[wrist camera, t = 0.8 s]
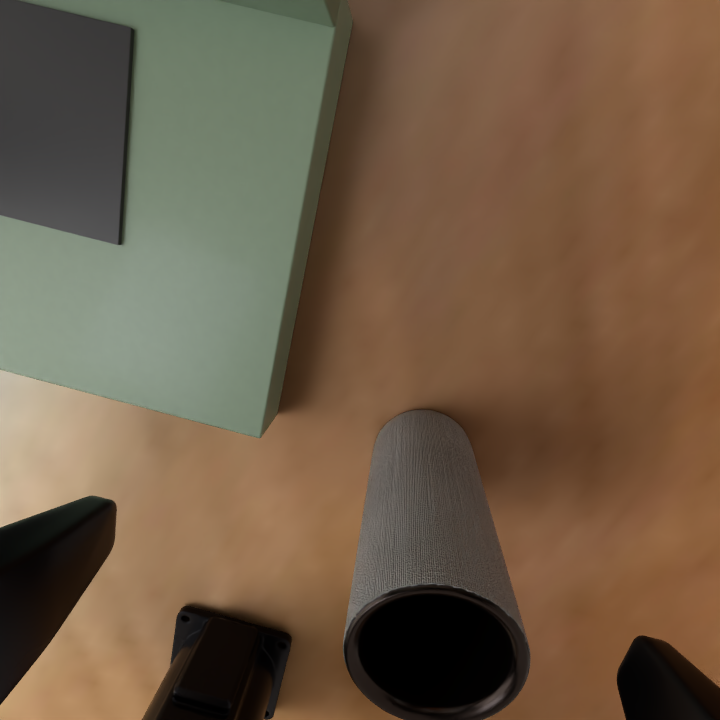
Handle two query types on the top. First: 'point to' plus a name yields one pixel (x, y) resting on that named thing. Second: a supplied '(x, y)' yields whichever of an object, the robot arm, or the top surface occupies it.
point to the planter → (432, 582)
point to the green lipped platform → (163, 195)
